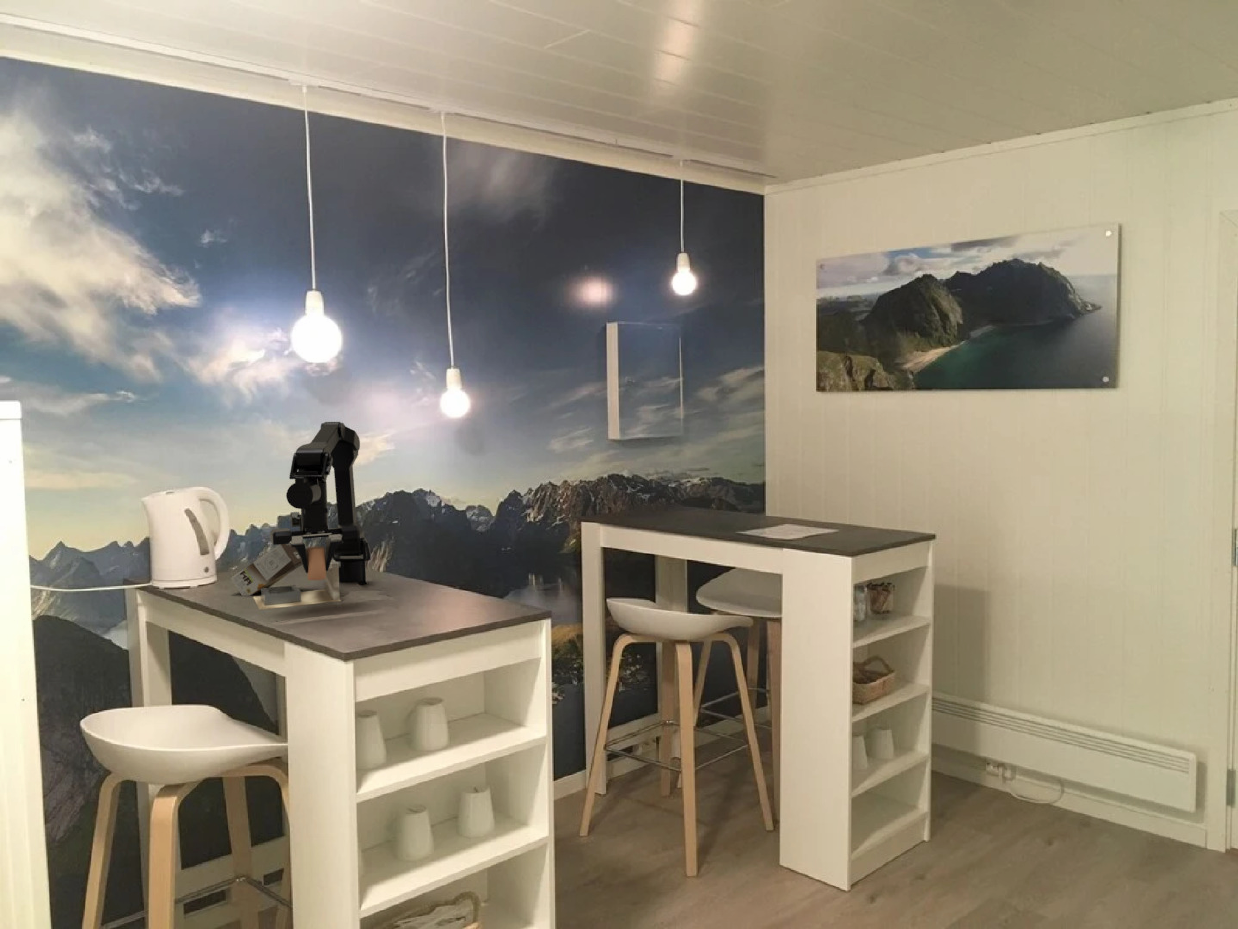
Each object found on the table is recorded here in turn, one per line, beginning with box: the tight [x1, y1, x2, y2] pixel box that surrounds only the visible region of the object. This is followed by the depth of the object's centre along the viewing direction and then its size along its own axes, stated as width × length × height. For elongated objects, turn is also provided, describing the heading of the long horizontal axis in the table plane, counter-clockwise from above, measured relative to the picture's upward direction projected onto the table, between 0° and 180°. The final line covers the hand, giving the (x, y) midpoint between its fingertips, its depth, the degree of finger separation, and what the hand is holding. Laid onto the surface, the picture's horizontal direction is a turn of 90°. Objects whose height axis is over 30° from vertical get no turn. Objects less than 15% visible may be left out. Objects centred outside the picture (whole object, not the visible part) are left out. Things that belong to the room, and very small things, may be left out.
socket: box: [260, 584, 302, 606], centre depth 230 cm, size 8×8×2 cm
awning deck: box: [252, 557, 342, 611], centre depth 231 cm, size 18×15×10 cm
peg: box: [305, 545, 326, 581], centre depth 220 cm, size 4×4×7 cm
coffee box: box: [230, 544, 307, 597], centre depth 238 cm, size 9×6×16 cm
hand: (316, 571), depth 220 cm, fingers closed on peg, 4 cm apart
